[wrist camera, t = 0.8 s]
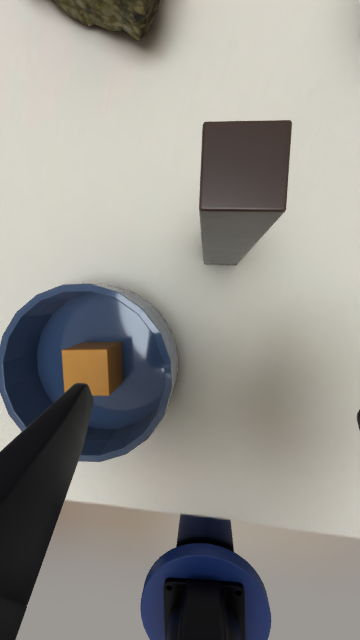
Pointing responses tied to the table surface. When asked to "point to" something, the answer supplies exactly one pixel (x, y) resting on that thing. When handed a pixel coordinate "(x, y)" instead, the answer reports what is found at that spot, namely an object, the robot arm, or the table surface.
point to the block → (93, 366)
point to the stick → (241, 185)
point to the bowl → (90, 326)
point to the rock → (114, 14)
